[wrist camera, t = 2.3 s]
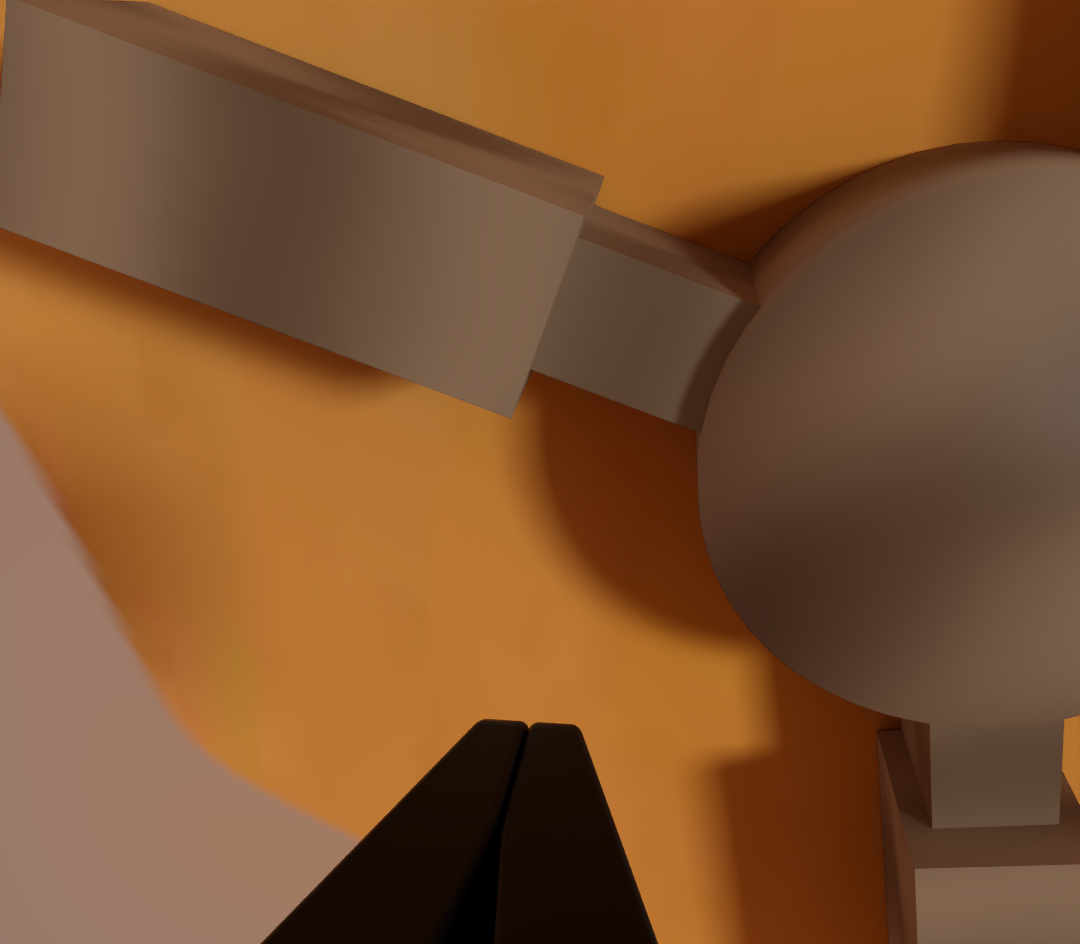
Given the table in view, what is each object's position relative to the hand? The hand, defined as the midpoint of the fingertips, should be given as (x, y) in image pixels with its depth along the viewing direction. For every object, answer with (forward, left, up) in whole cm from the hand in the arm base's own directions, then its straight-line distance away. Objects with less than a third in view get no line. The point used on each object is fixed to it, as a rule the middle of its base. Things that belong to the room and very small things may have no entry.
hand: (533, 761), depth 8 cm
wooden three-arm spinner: (-5, -2, -12) cm, 13 cm away
